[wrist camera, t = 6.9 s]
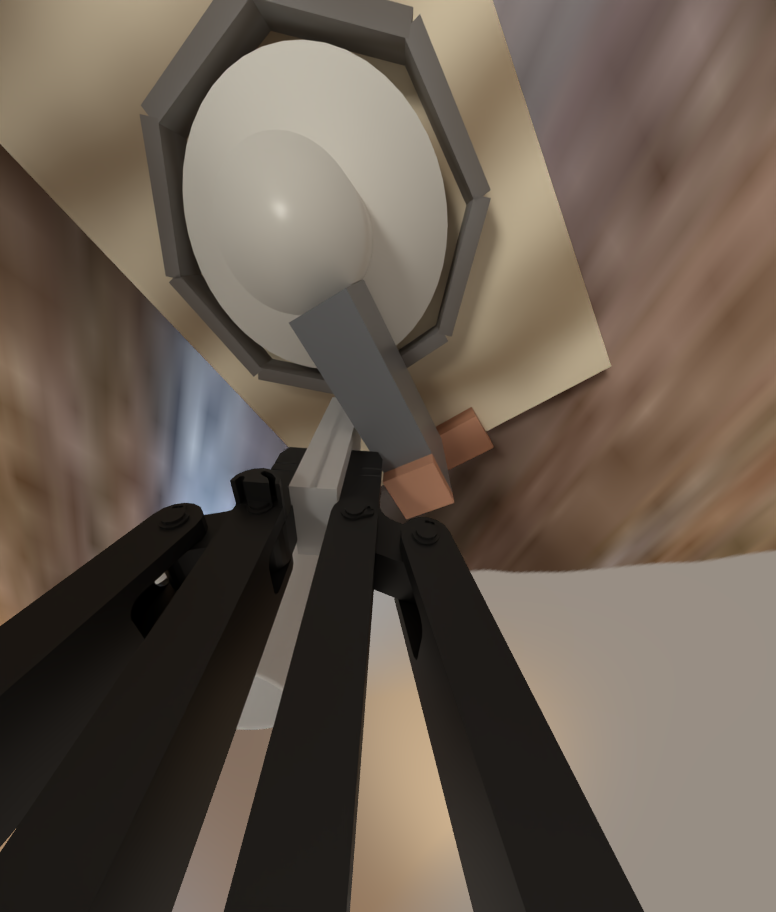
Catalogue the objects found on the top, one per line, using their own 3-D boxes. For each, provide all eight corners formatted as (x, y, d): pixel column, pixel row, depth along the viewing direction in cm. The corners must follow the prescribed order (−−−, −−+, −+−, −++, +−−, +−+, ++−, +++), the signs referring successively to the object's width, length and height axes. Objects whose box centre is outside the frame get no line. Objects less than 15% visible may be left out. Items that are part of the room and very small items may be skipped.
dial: (153, 178, 13) (-65, 108, 7) (369, -18, 10) (318, -425, 4) (347, 461, 19) (322, 548, 14) (508, 392, 17) (565, 463, 11)
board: (-31, 86, 12) (-135, 44, 10) (278, -581, 7) (209, -1035, 4) (350, 498, 22) (343, 526, 20) (600, 366, 17) (632, 383, 14)
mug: (172, 503, 24) (35, 647, 15) (254, 458, 21) (146, 599, 12) (277, 593, 29) (222, 738, 20) (352, 565, 26) (326, 717, 18)
